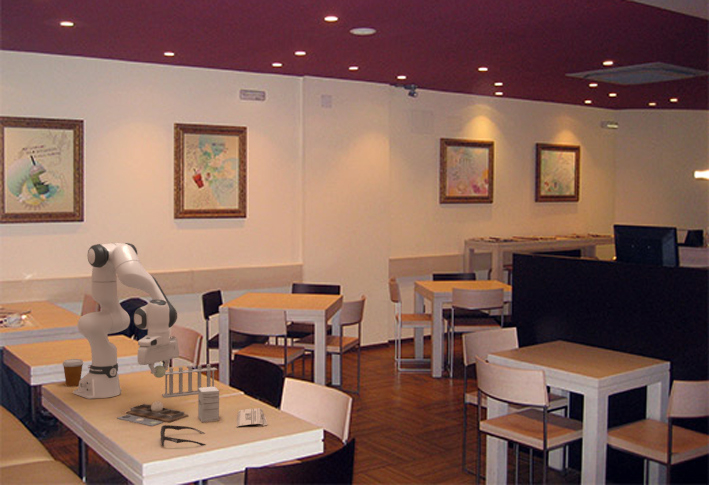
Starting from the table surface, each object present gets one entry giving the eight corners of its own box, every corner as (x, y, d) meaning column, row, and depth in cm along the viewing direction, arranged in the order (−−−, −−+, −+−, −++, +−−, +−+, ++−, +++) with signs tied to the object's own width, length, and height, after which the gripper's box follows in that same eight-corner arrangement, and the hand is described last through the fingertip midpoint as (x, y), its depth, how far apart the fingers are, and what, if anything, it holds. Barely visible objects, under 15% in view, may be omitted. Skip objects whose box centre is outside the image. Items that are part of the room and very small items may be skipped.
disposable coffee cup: (76, 381, 351) (76, 357, 350) (87, 384, 345) (87, 360, 345) (58, 385, 343) (58, 361, 343) (69, 388, 338) (69, 363, 337)
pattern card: (116, 418, 289) (116, 417, 289) (128, 415, 295) (128, 413, 295) (152, 426, 279) (152, 425, 279) (163, 422, 285) (163, 421, 285)
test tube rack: (164, 398, 323) (164, 369, 322) (162, 395, 327) (162, 367, 326) (217, 392, 335) (217, 364, 334) (214, 390, 338) (214, 362, 338)
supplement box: (197, 417, 292) (197, 387, 292) (215, 415, 295) (215, 386, 295) (201, 422, 285) (201, 391, 285) (219, 420, 288) (219, 390, 288)
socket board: (126, 413, 297) (126, 408, 297) (146, 407, 306) (146, 402, 306) (169, 422, 284) (169, 417, 284) (188, 416, 294) (188, 411, 294)
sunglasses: (159, 435, 269) (161, 422, 269) (204, 437, 273) (206, 425, 273) (158, 449, 253) (160, 436, 253) (205, 452, 257) (207, 438, 257)
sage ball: (150, 378, 293) (150, 366, 293) (159, 375, 297) (159, 364, 297) (159, 379, 290) (159, 367, 290) (168, 377, 295) (168, 365, 294)
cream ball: (148, 413, 294) (148, 401, 294) (157, 410, 299) (157, 399, 298) (157, 415, 292) (157, 403, 292) (165, 412, 296) (165, 400, 296)
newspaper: (267, 428, 281) (267, 422, 281) (236, 432, 280) (236, 425, 280) (266, 411, 304) (266, 406, 304) (238, 415, 302) (237, 409, 302)
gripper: (171, 334, 304) (171, 366, 304) (134, 341, 286) (135, 375, 287) (182, 335, 301) (182, 368, 301) (145, 343, 283) (146, 377, 283)
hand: (159, 372), depth 294 cm, fingers closed on sage ball, 5 cm apart
